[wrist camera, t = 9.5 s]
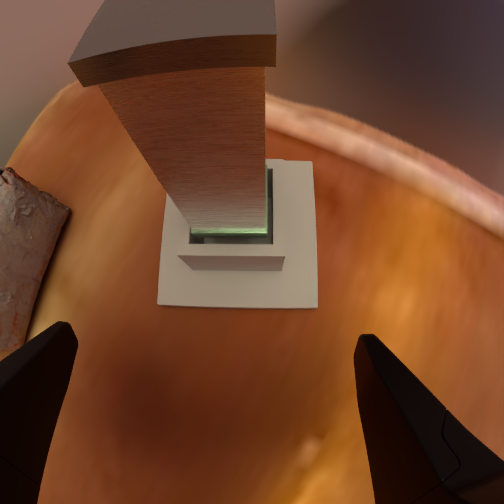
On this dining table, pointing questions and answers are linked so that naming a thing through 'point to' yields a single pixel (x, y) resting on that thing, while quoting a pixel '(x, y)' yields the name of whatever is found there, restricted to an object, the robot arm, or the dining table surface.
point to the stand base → (247, 253)
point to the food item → (23, 251)
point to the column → (191, 100)
